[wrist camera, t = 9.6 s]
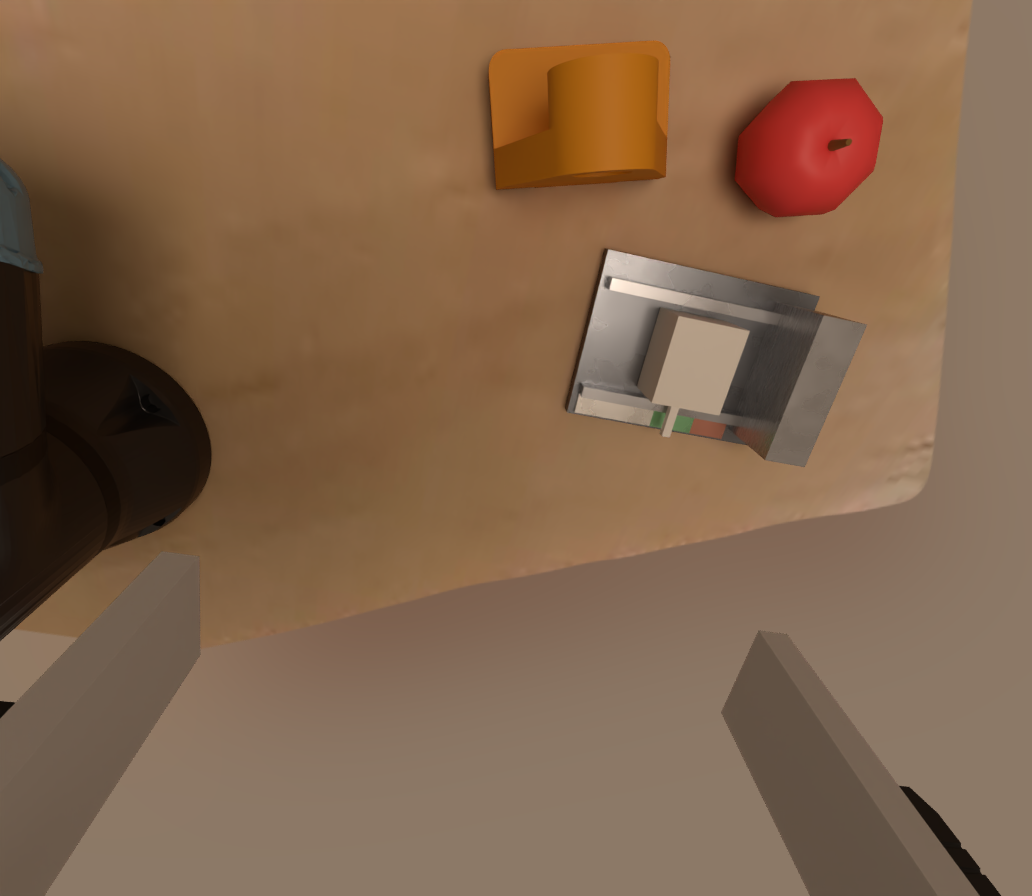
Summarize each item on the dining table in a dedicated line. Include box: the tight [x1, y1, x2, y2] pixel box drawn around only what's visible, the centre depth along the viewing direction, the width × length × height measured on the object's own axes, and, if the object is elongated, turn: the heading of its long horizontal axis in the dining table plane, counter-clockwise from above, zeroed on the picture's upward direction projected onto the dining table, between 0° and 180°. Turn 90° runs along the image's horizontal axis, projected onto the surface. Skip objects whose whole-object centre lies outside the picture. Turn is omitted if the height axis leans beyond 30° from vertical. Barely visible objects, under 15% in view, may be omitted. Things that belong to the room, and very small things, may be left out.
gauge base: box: [565, 249, 867, 467], centre depth 39 cm, size 16×12×7 cm
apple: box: [735, 78, 883, 217], centre depth 34 cm, size 8×8×8 cm
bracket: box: [489, 41, 670, 190], centre depth 30 cm, size 11×7×12 cm, turn 94°
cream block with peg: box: [637, 307, 750, 438], centre depth 39 cm, size 5×9×4 cm, turn 169°
